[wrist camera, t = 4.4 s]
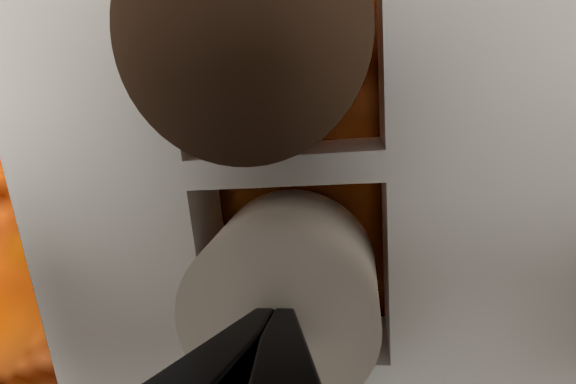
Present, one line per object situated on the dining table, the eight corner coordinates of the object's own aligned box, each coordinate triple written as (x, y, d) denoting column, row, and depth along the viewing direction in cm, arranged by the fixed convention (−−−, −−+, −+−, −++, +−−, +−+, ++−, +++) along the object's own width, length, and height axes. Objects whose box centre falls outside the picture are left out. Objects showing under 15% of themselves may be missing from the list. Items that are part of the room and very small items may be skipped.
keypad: (606, -157, 10) (686, -234, 7) (545, 504, 15) (582, 586, 12) (15, -60, 13) (-64, -93, 10) (131, 469, 17) (95, 531, 15)
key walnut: (365, -73, 9) (370, -151, 6) (372, 136, 10) (378, 160, 7) (169, -45, 10) (85, -100, 7) (195, 147, 11) (133, 173, 8)
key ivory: (373, 186, 11) (379, 225, 8) (377, 336, 12) (384, 421, 9) (210, 192, 12) (159, 230, 9) (228, 333, 13) (189, 410, 10)
